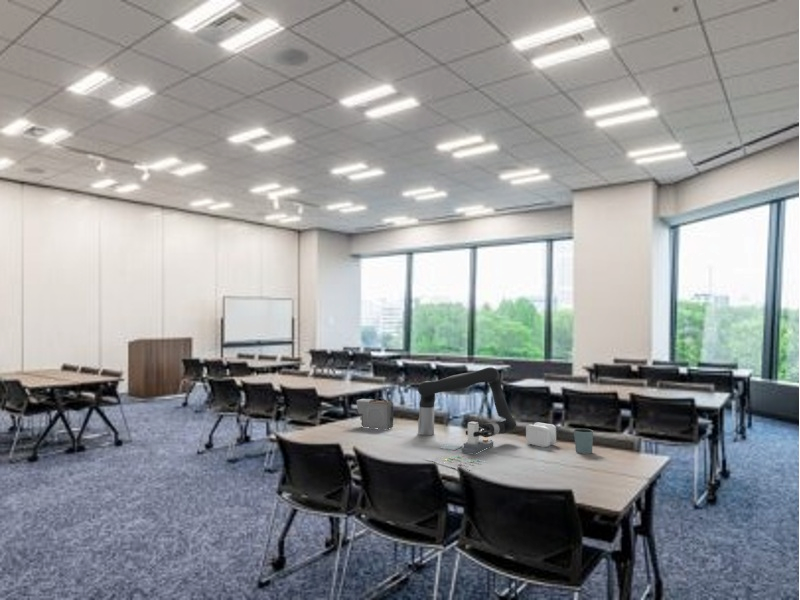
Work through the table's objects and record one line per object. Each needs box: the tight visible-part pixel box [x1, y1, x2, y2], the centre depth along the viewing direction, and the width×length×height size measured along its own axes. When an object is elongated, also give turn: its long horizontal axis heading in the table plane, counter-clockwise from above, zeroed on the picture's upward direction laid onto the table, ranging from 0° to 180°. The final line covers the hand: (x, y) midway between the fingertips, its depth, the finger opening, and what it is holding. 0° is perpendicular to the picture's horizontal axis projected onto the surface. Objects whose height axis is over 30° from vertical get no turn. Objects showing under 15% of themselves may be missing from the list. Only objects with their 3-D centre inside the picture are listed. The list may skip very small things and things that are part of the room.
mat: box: [439, 443, 463, 451], centre depth 307 cm, size 9×9×1 cm
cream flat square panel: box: [444, 455, 485, 467], centre depth 279 cm, size 30×30×2 cm
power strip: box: [461, 438, 494, 455], centre depth 307 cm, size 8×30×4 cm, turn 147°
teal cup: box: [573, 428, 594, 455], centre depth 298 cm, size 10×10×12 cm
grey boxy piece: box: [356, 384, 394, 430], centre depth 364 cm, size 12×24×30 cm, turn 67°
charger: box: [467, 421, 480, 445], centre depth 300 cm, size 4×4×13 cm
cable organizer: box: [525, 421, 557, 448], centre depth 315 cm, size 15×11×12 cm
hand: (470, 433), depth 298 cm, fingers closed on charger, 5 cm apart
